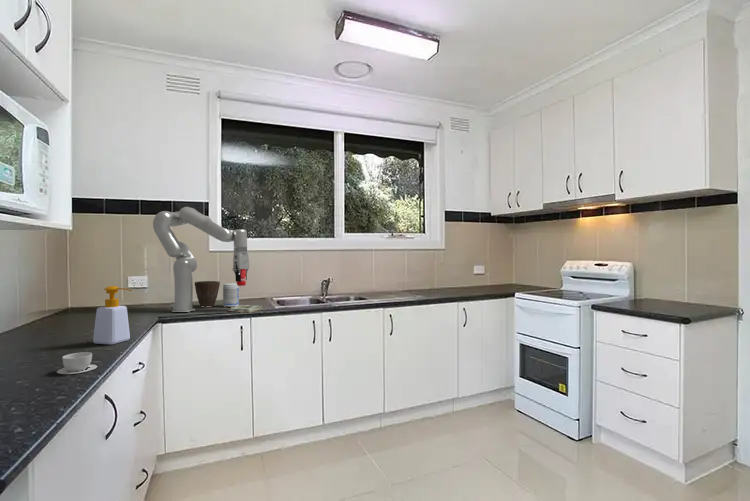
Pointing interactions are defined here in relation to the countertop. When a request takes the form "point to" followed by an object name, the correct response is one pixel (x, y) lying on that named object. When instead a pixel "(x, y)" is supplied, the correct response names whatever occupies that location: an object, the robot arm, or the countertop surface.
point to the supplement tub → (230, 294)
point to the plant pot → (207, 292)
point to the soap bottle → (111, 321)
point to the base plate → (245, 308)
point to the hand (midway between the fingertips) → (241, 280)
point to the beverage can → (242, 278)
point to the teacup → (77, 363)
